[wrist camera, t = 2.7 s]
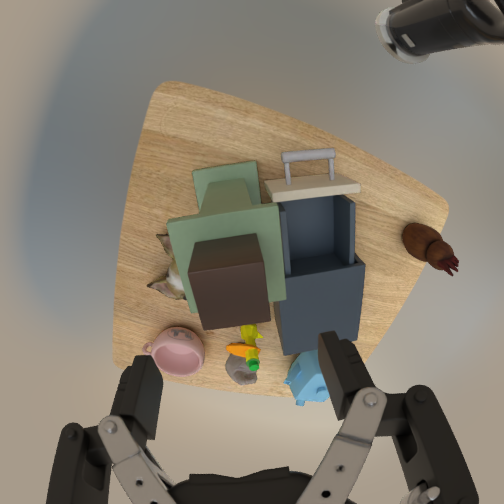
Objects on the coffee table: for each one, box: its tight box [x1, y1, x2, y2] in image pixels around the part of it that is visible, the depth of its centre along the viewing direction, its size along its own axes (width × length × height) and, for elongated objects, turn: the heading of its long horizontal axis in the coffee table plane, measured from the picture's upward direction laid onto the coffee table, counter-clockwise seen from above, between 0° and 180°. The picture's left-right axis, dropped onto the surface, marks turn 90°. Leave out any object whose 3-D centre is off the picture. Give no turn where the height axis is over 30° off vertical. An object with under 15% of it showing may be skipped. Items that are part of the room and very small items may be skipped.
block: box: [187, 233, 271, 330], centre depth 19 cm, size 4×4×4 cm
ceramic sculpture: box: [147, 234, 187, 300], centre depth 42 cm, size 11×9×15 cm
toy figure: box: [226, 324, 263, 371], centre depth 45 cm, size 7×4×12 cm, turn 72°
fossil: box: [225, 343, 257, 385], centre depth 49 cm, size 6×4×10 cm, turn 97°
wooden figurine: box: [402, 223, 459, 276], centre depth 40 cm, size 7×6×15 cm
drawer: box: [264, 148, 361, 275], centre depth 38 cm, size 18×11×8 cm, turn 7°
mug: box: [142, 327, 205, 377], centre depth 49 cm, size 12×10×6 cm
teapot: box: [284, 349, 330, 406], centre depth 53 cm, size 18×14×10 cm
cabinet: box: [273, 253, 365, 356], centre depth 44 cm, size 15×13×10 cm
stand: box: [166, 160, 286, 313], centre depth 31 cm, size 9×9×22 cm
